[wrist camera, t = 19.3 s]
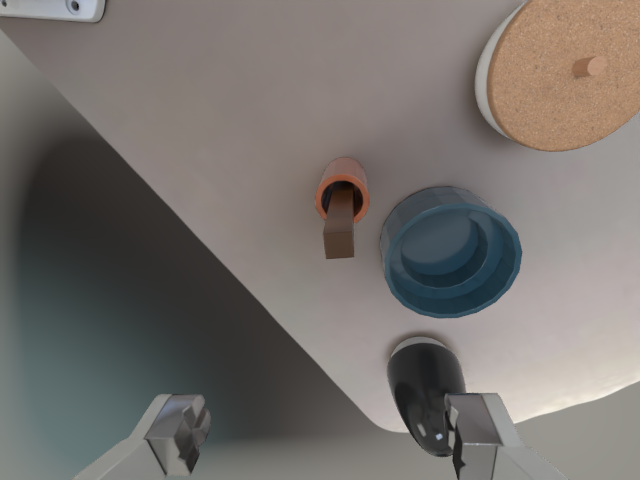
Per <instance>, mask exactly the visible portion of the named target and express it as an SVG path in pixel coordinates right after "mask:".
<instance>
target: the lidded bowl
mask: <svg viewBox="0 0 640 480" xmlns="http://www.w3.org/2000/svg"><path fill="white" fill-rule="evenodd" d="M475 95H476V101H477V104H478V106H479V109H480V111H481V113H482V115H483V116H484V118H485V119H486V121H487V122H488V123H489V124H490V125H491V126H492V127H493V128H494V129H495V130H497V131H498V132H499V133H500V134H502V135H503V136H505V137H507V138H509V139H511V140H513V141H515V142H517V143H519V144H521V145H523V146H526V147H529V148H533V149H536V150H541V151H549V152H555V151H567V150H573V149H577V148H580V147H584V146H587V145H590V144H592V143H594V142H596V141H598V140H601V139H603V138H604V137H606V136H608V135H609V134H611V133H613V132H614V131H616V130H617V129H618V128H620V127H621V126H622V125H624V124H625V123H626V122H628V121H629V120H630V119H631V118H632V117H633V116H634V115H635V114H636V113H637V112H638V111H639V110H640V0H526V1H525V2H524V3H523V4H521V5H520V6H519V7H518V8H516V9H515V10H514V11H513V12H512V13H511V14H510V15H509V16H508V17H507V18H506V19H505V20H504V21H503V22H502V23H501V24H500V26H499V27H498V28H497V29H496V31H495V32H494V33H493V35H492V36H491V38H490V39H489V41H488V43H487V44H486V46H485V48H484V50H483V52H482V54H481V57H480V59H479V62H478V66H477V70H476V76H475Z"/></svg>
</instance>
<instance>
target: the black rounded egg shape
mask: <svg viewBox="0 0 640 480" xmlns="http://www.w3.org/2000/svg"><path fill="white" fill-rule="evenodd" d="M387 376H388V382H389V386H390V389H391V393H392V396H393V399H394V402H395V404H396V407H397V409H398V411H399V414H400V416H401V418H402V420H403V421H404V423H405V425H406V427H407V428H408V430H409V432H410V433H411V435H412V436H413V438H414V439H415V440H416V442H417V443H418V444H419V445H420V446H421V447H422V448H423V449H424V450H425V451H426V452H428V453H429V454H431V455H434V456H437V457H448V456H451V455H453V449H452V448H451V447H450V446H449V445H448V441H447V438H446V433H445V428H444V411H445V410H446V406H445V402H444V399H445V394H446V393H466V387H465V382H464V377H463V373H462V369H461V366H460V363H459V361H458V359H457V357H456V356H455V355H454V354H453V353H452V352H451V351H450V350H449V349H448V348H447V347H446V346H444V345H443V344H442V343H440V342H439V341H437V340H435V339H432V338H428V337H413V338H409V339H407V340H405V341H403V342H401V343H400V344H399V345H398V346H397V347H396V348H395V350H394V351H393V353H392V355H391V358H390V360H389V362H388V366H387Z"/></svg>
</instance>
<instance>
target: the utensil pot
mask: <svg viewBox="0 0 640 480" xmlns="http://www.w3.org/2000/svg"><path fill="white" fill-rule="evenodd" d="M343 180H345V181H348V182H351V183H353V184H354V223H356V222H358V221H359V220H360V219H361V218H362V217H363V216H364V215H365V214H366V212H367V209H368V206H369V192H368V185H367V178H366V173H365V170H364V168H363V166H362V165H361V164H360V163H359V162H358V161H357V160H355V159H353V158H349V157H340V158H337V159H335V160H333V161H332V162H330V163H329V164H328V166H327V167H326V169H325V170H324V173H323V176H322V178H321V181H320V183H319V186H318V189H317V192H316V196H315V204H316V209H317V211H318V213H319V214H320V216H321V217H322V218H323V219H324V220H326V217H327V213H328V208H329V204H330V199H331V195H332V190H333V186H334V182H335V181H343Z"/></svg>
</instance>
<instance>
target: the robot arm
mask: <svg viewBox="0 0 640 480" xmlns="http://www.w3.org/2000/svg"><path fill="white" fill-rule="evenodd" d="M77 3H78V4H79V10H78V9H77ZM104 6H105V0H0V16H8V17H22V18H36V19H50V20H65V21H79V22H98V21H99V20H100V19H101V18H102V15H103V12H104ZM444 402H445V406H446V410H445V411H444V428H445V433H446V438H447V441H448V445H449V446H450V447H451V448H452V449H453V464H454V467H455V471H456V474H457V478H458V480H569V479H568V478H567V477H565V476H564V475H563V474H562V473H561V472H559V471H558V470H557V469H556V468H555V467H553V466H552V465H551V464H550V463H549V462H548V461H547V460H545V459H544V458H543V457H542V456H541V455H539V454H538V453H537V452H536V451H535V450H534V449H532V448H531V447H526V446H524V444H523V442H522V440H521V438H520V436H519V434H518V432H517V430H516V428H515V426H514V424H513V422H512V420H511V418H510V416H509V414H508V412H507V409H506V407H505V405H504V403H503V401H502V399H501V397H500V396H499V395H498V394H497V393H446V394H445V399H444ZM204 403H205V401H204V398H203V396H202V395H184V394H160V395H158V396H157V397H155V399H154V400H153V402H152V403H151V405H150V406H149V408H148V410H147V411H146V412H145V414H144V415H143V417H142V418H141V420H140V421H139V423H138V424H137V426H136V427H135V429H134V430H133V432H132V433H131V435H130V437H129V438H128V439H123V440H122V441H121V442H119V443H118V444H117V445H116V446H114V447H113V448H111V449H110V450H109V451H108V452H106V453H105V454H104V455H102V456H101V457H100V458H98V459H97V460H96V461H94V462H93V463H92V464H90V465H89V466H88V467H86V468H85V469H84V470H82V471H81V472H80V473H78V474H77V475H76V476H74V477H73V478H72V479H71V480H164V479H165V478H166V476H170V475H171V476H178V475H179V476H180V475H181V476H186V475H187V476H189V475H191V473H192V471H193V469H194V466H195V464H196V462H197V459H198V457H199V455H200V453H199V448H198V447H199V446H200V445H201V444H202V443H204V441H206V438H207V436H208V433H209V430H210V424H211V418H210V414H209V411H208V410H207V409H206V408H204V407H203V405H204Z"/></svg>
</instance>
